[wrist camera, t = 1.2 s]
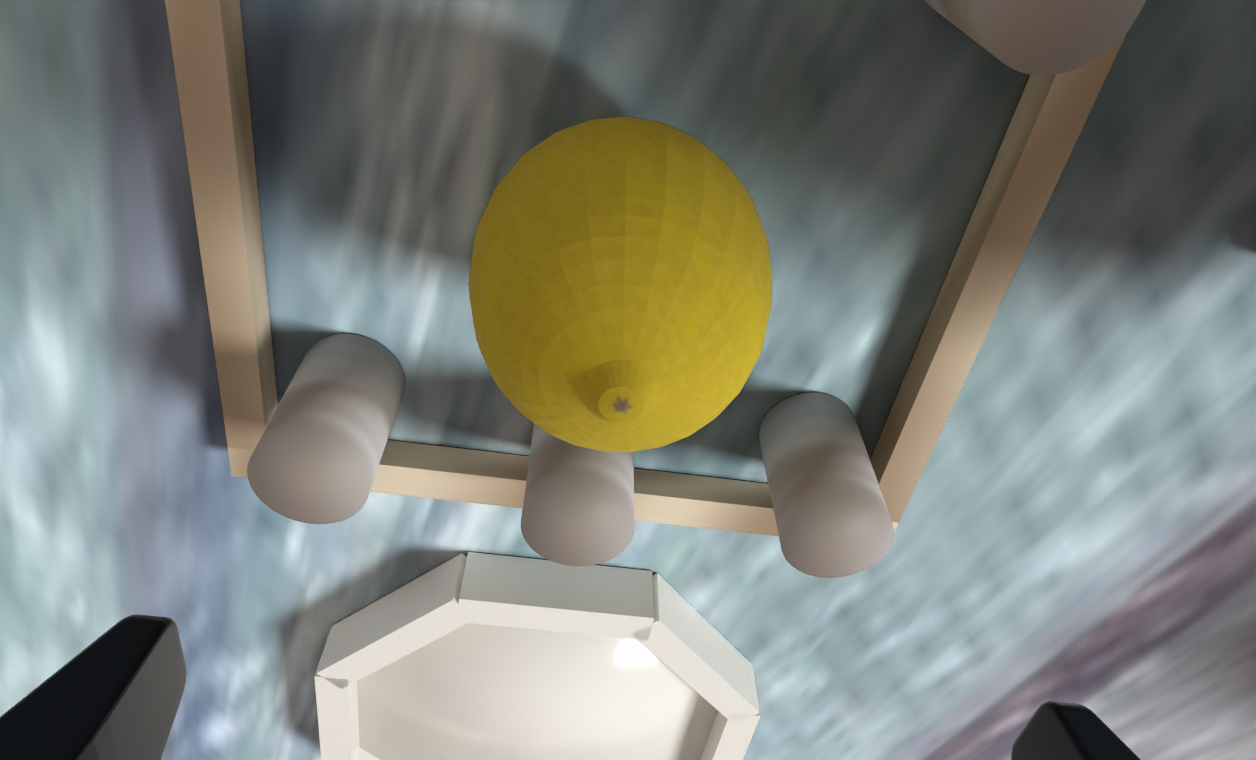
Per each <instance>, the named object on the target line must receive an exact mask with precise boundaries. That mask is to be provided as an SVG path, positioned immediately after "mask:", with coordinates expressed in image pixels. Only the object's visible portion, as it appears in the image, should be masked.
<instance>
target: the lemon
mask: <svg viewBox="0 0 1256 760" xmlns="http://www.w3.org/2000/svg"><path fill="white" fill-rule="evenodd" d="M469 294H470V302H471V309H472V315H473V322H474V328H475V333H476V339H477V342H478V345H479V348H480V351H481V353H482V355H483V358H484V360H485V362H486V364H487V366H488V368H489V371H490V373H491V375H492V377H493V379H494V381H495V383H496V384H497V386H498V388H499V389H500V390H501V391H502V392H503V394H504V395H505V396H506V397H507V398H508V400H509V401H510V402H511V403H512V404H513V406H514V407H515V408H516V409H517V410H518V411H519V412H520V413H521V414H522V415H523V416H525V417H526V418H527V419H529V420H530V421H531V422H533V423H534V424H535V425H537V426H538V427H539V428H541V429H542V430H543V431H545V432H546V433H548V434H550V435H552V436H555V437H557V438H559V439H561V440H563V441H566V442H568V443H570V444H572V445H576V446H580V447H585V448H589V449H594V450H598V451H604V452H635V451H641V450H647V449H653V448H659V447H663V446H665V445H668V444H671V443H673V442H676V441H678V440H681V439H683V438H686V437H688V436H690V435H692V434H693V433H695V432H696V431H698V430H699V429H701V428H702V427H704V426H705V425H707V424H708V423H710V422H711V421H713V420H714V419H715V418H716V417H717V416H718V415H719V414H720V413H721V412H722V411H723V410H724V409H725V408H726V407H727V406H728V405H729V404H730V403H731V401H732V400H733V399H734V398H735V397H736V396H737V395H738V394H739V393H740V391H741V389H742V388H743V386H744V384H745V382H746V380H747V379H748V377H749V375H750V373H751V371H752V369H753V368H754V366H755V364H756V362H757V360H758V358H759V356H760V353H761V350H762V347H763V342H764V337H765V333H766V328H767V324H768V319H769V314H770V309H771V303H772V281H771V266H770V251H769V245H768V241H767V238H766V235H765V232H764V230H763V227H762V224H761V222H760V219H759V216H758V213H757V211H756V208H755V205H754V203H753V200H752V198H751V197H750V195H749V193H748V192H747V190H746V189H745V188H744V186H743V185H742V184H741V182H740V181H739V180H738V178H737V177H736V176H735V174H734V173H733V172H732V170H731V169H730V168H729V166H728V165H727V164H726V163H725V162H724V161H723V159H721V158H720V157H719V156H717V155H716V154H715V153H714V152H712V151H711V150H710V149H709V148H707V147H706V146H705V145H704V144H702V143H701V142H700V141H699V140H697V139H696V138H695V137H693V136H691V135H689V134H686V133H684V132H682V131H679V130H677V129H675V128H673V127H670V126H668V125H666V124H663V123H661V122H657V121H651V120H645V119H638V118H632V117H614V118H603V119H593V120H588V121H585V122H582V123H580V124H577V125H574V126H571V127H568V128H565V129H563V130H560V131H557V132H555V133H554V134H552V135H551V136H549V137H548V138H546V139H545V140H544V141H542V142H541V143H539V144H538V145H536V146H535V147H533V148H532V149H531V150H529V151H528V152H526V153H525V154H524V155H523V156H522V157H521V158H520V159H519V161H518V162H517V163H516V164H515V165H514V166H513V168H512V169H511V170H510V171H509V172H508V174H507V175H506V176H505V177H504V178H503V179H502V181H501V182H500V183H499V184H498V185H497V187H496V189H495V190H494V192H493V194H492V196H491V199H490V201H489V203H488V205H487V207H486V210H485V212H484V214H483V216H482V218H481V221H480V223H479V225H478V228H477V230H476V234H475V239H474V245H473V252H472V260H471V267H470V275H469Z"/></svg>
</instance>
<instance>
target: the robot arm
mask: <svg viewBox="0 0 1256 760" xmlns="http://www.w3.org/2000/svg"><path fill="white" fill-rule="evenodd" d="M185 682H186V665H185V660H184V656H183V651H182V647H181V642H180V638H179V633H178V629H177V626H176V623H175V622H174V621H173V620H172V619H171V618H167V617H157V616H147V615H131V616H128V617H126V618H124V619H122V620H121V621H119V622H118V623H117V624H115V625H114V626H113V627H112V628H110V629H109V630H108V631H107V632H106V633H104V634H103V635H102V636H101V637H99V638H98V639H97V640H96V641H94V642H93V643H92V644H91V645H89V646H88V647H87V648H86V649H84V650H83V651H82V652H81V653H79V654H78V655H77V656H76V657H74V658H73V659H72V660H71V661H69V662H68V663H67V664H66V665H64V666H63V667H62V668H61V669H59V670H58V671H57V672H56V673H54V674H53V675H52V676H51V677H49V678H48V679H47V680H46V681H44V682H43V683H42V684H41V685H40V686H38V687H37V688H36V689H35V690H33V691H32V692H31V693H30V694H28V695H27V696H26V697H25V698H23V699H22V700H21V701H20V702H18V703H17V704H16V705H15V706H13V707H12V708H11V709H10V710H8V711H7V712H6V713H5V714H3V715H2V716H1V717H0V760H161V757H162V754H163V751H164V748H165V745H166V742H167V739H168V736H169V733H170V730H171V727H172V724H173V722H174V719H175V716H176V713H177V710H178V707H179V704H180V701H181V698H182V695H183V691H184V687H185ZM1011 760H1140V759H1139V758H1138V757H1137V756H1136V755H1135V754H1134V753H1133V752H1132V751H1131V750H1130V749H1129V748H1128V747H1127V746H1126V745H1125V744H1124V743H1123V742H1122V741H1121V740H1120V739H1119V738H1118V737H1117V736H1116V735H1115V734H1114V733H1113V732H1112V731H1111V730H1110V729H1109V728H1108V727H1107V726H1106V725H1105V724H1104V723H1103V722H1102V721H1101V720H1100V719H1099V718H1098V717H1097V716H1096V715H1095V714H1094V713H1093V712H1092V711H1091V710H1090V709H1088V708H1087V707H1085V706H1083V705H1080V704H1076V703H1065V702H1054V701H1048V702H1046V703H1043V704H1042V705H1041V706H1040V707H1039V708H1038V709H1037V711H1036V712H1035V714H1034V715H1033V716H1032V718H1031V719H1030V721H1029V722H1028V723H1027V725H1026V726H1025V728H1024V729H1023V730H1022V732H1021V733H1020V734H1019V736H1018V737H1017V739H1016V740H1015V742H1014V745H1013V748H1012V754H1011Z"/></svg>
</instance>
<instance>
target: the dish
mask: <svg viewBox="0 0 1256 760" xmlns="http://www.w3.org/2000/svg"><path fill="white" fill-rule="evenodd" d="M314 677H315V690H316V702H317V714H318V726H319V738H320V750H321V760H743V757H744V755H745V752H746V750H747V748H748V745H749V743H750V740H751V738H752V735H753V733H754V731H755V728H756V726H757V723H758V721H759V718H760V710H759V703H758V696H757V689H756V682H755V676H754V669H753V665H752V664H751V663H750V662H749V661H748V660H747V659H746V658H745V657H744V656H743V655H741V654H740V653H739V652H738V651H737V650H736V649H735V648H734V647H733V646H732V645H731V644H730V643H729V642H728V641H727V640H726V639H725V638H724V637H723V636H722V635H721V634H720V633H719V632H718V631H717V630H716V629H715V628H714V627H713V626H711V625H710V624H709V623H708V622H707V621H706V620H705V619H704V618H703V617H702V616H701V615H700V614H699V613H698V612H697V611H696V610H695V609H694V608H693V607H692V606H691V605H690V604H689V603H688V602H687V601H686V600H685V599H684V598H682V597H681V596H680V595H679V594H678V593H677V592H676V591H675V590H674V589H673V588H672V587H671V586H670V585H669V584H668V583H667V582H666V581H665V580H664V579H663V578H662V577H661V576H660V575H659V574H658V573H657V574H655V575H653V576H652V571H647V570H638V569H628V568H618V567H609V566H599V565H590V566H569V565H563V564H559V563H556V562H553V561H550V560H541V559H532V558H522V557H512V556H503V555H493V554H484V553H474V552H468V554H467V557H466V556H465V555H464V554H463V553H461V554H459V555H458V556H456V557H454V558H452V559H450V560H449V561H447V562H445V563H443V564H442V565H440V566H438V567H436V568H434V569H433V570H431V571H429V572H427V573H425V574H424V575H422V576H420V577H418V578H417V579H415V580H413V581H411V582H409V583H408V584H406V585H404V586H402V587H400V588H399V589H397V590H395V591H393V592H392V593H390V594H388V595H386V596H384V597H383V598H381V599H379V600H377V601H376V602H374V603H372V604H370V605H368V606H367V607H365V608H363V609H361V610H359V611H358V612H356V613H354V614H352V615H351V616H349V617H347V618H345V619H343V620H342V621H340V622H338V623H336V624H334V625H333V626H332V629H330V632H329V635H328V638H327V641H326V644H325V647H324V650H323V653H322V656H321V659H320V661H319V664H318V667H317V670H316V673H315V676H314Z"/></svg>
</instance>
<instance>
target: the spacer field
mask: <svg viewBox="0 0 1256 760" xmlns="http://www.w3.org/2000/svg"><path fill="white" fill-rule="evenodd" d="M924 1H925V2H926V3H927V4H928V5H929V6H930V7H932V8H933V9H934V10H935V11H937V12H938V13H939V14H941V15H942V16H943V17H944V18H946V19H947V20H948V21H950V22H951V23H952V24H953V25H955V26H956V27H957V28H959V29H960V30H961V31H962V32H964V33H965V34H966V35H968V36H969V37H970V38H972V39H973V40H974V41H975V42H977V43H978V44H979V45H981V46H982V47H983V48H984V49H986V50H987V51H988V52H990V53H991V54H992V55H993V56H995V57H996V58H997V59H999V60H1000V61H1001V62H1002V63H1004V64H1005V65H1007V66H1008V67H1010V68H1012V69H1014V70H1016V71H1019V72H1021V73H1026V74H1030V77H1029V79H1028V82H1027V84H1026V86H1025V89H1024V91H1023V94H1022V96H1021V98H1020V101H1019V103H1018V106H1017V108H1016V110H1015V113H1014V115H1013V118H1012V120H1011V122H1010V125H1009V127H1008V130H1007V132H1006V134H1005V137H1004V139H1003V142H1002V144H1001V146H1000V149H999V151H998V154H997V156H996V159H995V161H994V163H993V166H992V168H991V171H990V173H989V175H988V178H987V180H986V183H985V185H984V187H983V190H982V192H981V195H980V197H979V199H978V202H977V204H976V207H975V209H974V211H973V214H972V216H971V219H970V221H969V223H968V226H967V228H966V231H965V233H964V235H963V238H962V240H961V243H960V245H959V247H958V250H957V252H956V255H955V257H954V259H953V262H952V264H951V267H950V269H949V272H948V274H947V276H946V279H945V281H944V284H943V286H942V288H941V291H940V293H939V296H938V298H937V300H936V303H935V305H934V308H933V310H932V312H931V315H930V317H929V320H928V322H927V324H926V327H925V329H924V332H923V334H922V336H921V339H920V341H919V344H918V346H917V348H916V351H915V353H914V356H913V358H912V360H911V363H910V365H909V368H908V370H907V372H906V375H905V377H904V380H903V382H902V384H901V387H900V389H899V392H898V394H897V397H896V399H895V401H894V404H893V406H892V409H891V411H890V413H889V416H888V418H887V421H886V423H885V425H884V428H883V430H882V433H881V435H880V437H879V440H878V442H877V445H876V447H875V449H874V452H873V454H872V457H871V459H869V456H868V453H867V451H866V448H865V445H864V442H863V439H862V437H861V434H860V431H859V428H858V425H857V423H856V420H855V417H854V415H853V412H852V411H851V409H850V408H849V407H848V405H847V404H845V403H844V402H843V401H842V400H840V399H838V398H836V397H834V396H831V395H828V394H824V393H802V394H798V395H794V396H791V397H789V398H786V399H784V400H782V401H781V402H779V403H778V404H776V405H775V406H774V407H773V408H772V409H771V410H770V411H769V412H768V413H767V414H766V415H765V417H764V419H763V420H762V423H761V425H760V429H759V441H760V446H761V451H762V456H763V461H764V466H765V470H766V475H767V480H768V484H765V483H756V482H747V481H739V480H730V479H721V478H713V477H704V476H695V475H687V474H678V473H669V472H660V471H652V470H643V469H634V463H633V452H604V451H598V450H594V449H589V448H585V447H580V446H576V445H572V444H570V443H568V442H566V441H563V440H561V439H559V438H557V437H555V436H552V435H550V434H548V433H546V432H545V431H543V430H542V429H541V428H539V427H538V426H537V425H535V424H534V427H533V435H532V442H531V450H530V456H521V455H513V454H504V453H495V452H486V451H478V450H469V449H460V448H452V447H443V446H434V445H426V444H417V443H408V442H399V441H391V440H388V437H389V434H390V431H391V428H392V425H393V423H394V420H395V417H396V414H397V411H398V408H399V405H400V402H401V400H402V397H403V394H404V390H405V384H406V381H405V374H404V371H403V368H402V366H401V364H400V362H399V361H398V359H397V358H396V357H395V355H394V354H393V353H392V352H391V351H390V350H388V349H387V348H386V347H385V346H383V345H382V344H380V343H378V342H376V341H375V340H372V339H370V338H367V337H364V336H361V335H355V334H335V335H331V336H327V337H325V338H322V339H320V340H319V341H317V342H316V343H314V344H313V345H312V346H311V347H310V348H309V350H308V351H307V353H306V355H305V356H304V358H303V360H302V362H301V364H300V366H299V368H298V369H297V371H296V373H295V375H294V377H293V379H292V381H291V382H290V384H289V386H288V388H287V390H286V392H285V394H284V395H283V397H282V399H281V401H280V403H279V405H278V400H277V389H276V378H275V368H274V357H273V347H272V336H271V325H270V315H269V304H268V294H267V283H266V272H265V262H264V251H263V240H262V230H261V219H260V209H259V198H258V187H257V177H256V166H255V156H254V145H253V134H252V124H251V113H250V102H249V92H248V81H247V71H246V60H245V49H244V39H243V28H242V18H241V7H240V0H165V5H166V12H167V20H168V27H169V34H170V41H171V48H172V55H173V62H174V69H175V76H176V83H177V91H178V98H179V105H180V112H181V119H182V126H183V133H184V140H185V147H186V154H187V162H188V169H189V176H190V183H191V190H192V197H193V204H194V211H195V218H196V225H197V233H198V240H199V247H200V254H201V261H202V268H203V275H204V282H205V289H206V296H207V304H208V311H209V318H210V325H211V332H212V339H213V346H214V353H215V360H216V367H217V375H218V382H219V389H220V396H221V403H222V410H223V417H224V424H225V431H226V438H227V446H228V453H229V460H230V467H231V474H232V476H233V477H242V478H248V480H249V483H250V485H251V487H252V489H253V491H254V492H255V494H256V495H257V496H258V498H259V499H260V500H261V501H262V502H263V503H264V504H266V505H267V506H268V507H269V508H271V509H272V510H274V511H275V512H277V513H279V514H281V515H283V516H285V517H287V518H290V519H293V520H296V521H300V522H304V523H311V524H329V523H335V522H339V521H342V520H345V519H348V518H349V517H351V516H353V515H354V514H356V513H357V512H358V511H359V510H360V509H361V508H362V507H363V505H364V504H365V502H366V500H367V497H368V495H369V492H370V491H371V492H380V493H389V494H398V495H407V496H416V497H426V498H435V499H444V500H453V501H462V502H471V503H480V504H490V505H499V506H508V507H517V508H523V510H522V517H521V530H522V534H523V537H524V538H525V540H526V542H527V543H528V545H529V546H530V547H531V548H532V549H533V550H534V551H535V552H536V553H538V554H539V555H541V556H542V557H544V558H546V559H548V560H550V561H553V562H556V563H559V564H563V565H569V566H590V565H595V564H600V563H603V562H606V561H608V560H610V559H612V558H614V557H616V556H617V555H619V554H620V553H621V552H622V551H623V550H624V549H625V548H626V547H627V546H628V545H629V543H630V542H631V540H632V537H633V534H634V529H635V520H636V521H645V522H654V523H664V524H673V525H682V526H691V527H700V528H709V529H718V530H728V531H737V532H746V533H755V534H764V535H773V536H779V539H780V544H781V549H782V552H783V555H784V557H785V558H786V560H787V561H788V562H789V563H790V564H791V565H792V566H793V567H794V568H796V569H797V570H799V571H801V572H803V573H806V574H808V575H812V576H817V577H826V578H833V577H843V576H848V575H852V574H855V573H858V572H860V571H863V570H865V569H867V568H869V567H870V566H872V565H873V564H875V563H876V562H878V561H879V560H880V559H881V558H882V557H883V556H884V555H885V554H886V552H887V551H888V550H889V548H890V546H891V544H892V541H893V537H894V532H895V530H896V528H897V525H898V523H899V521H900V519H901V517H902V515H903V512H904V510H905V508H906V506H907V504H908V502H909V500H910V497H911V495H912V493H913V491H914V489H915V487H916V485H917V482H918V480H919V478H920V476H921V474H922V472H923V470H924V467H925V465H926V463H927V461H928V459H929V457H930V455H931V452H932V450H933V448H934V446H935V444H936V442H937V440H938V437H939V435H940V433H941V431H942V429H943V427H944V425H945V422H946V420H947V418H948V416H949V414H950V412H951V410H952V407H953V405H954V403H955V401H956V399H957V397H958V395H959V392H960V390H961V388H962V386H963V384H964V382H965V380H966V377H967V375H968V373H969V371H970V369H971V367H972V365H973V362H974V360H975V358H976V356H977V354H978V352H979V350H980V347H981V345H982V343H983V341H984V339H985V337H986V334H987V332H988V330H989V328H990V326H991V324H992V322H993V319H994V317H995V315H996V313H997V311H998V309H999V307H1000V304H1001V302H1002V300H1003V298H1004V296H1005V294H1006V292H1007V289H1008V287H1009V285H1010V283H1011V281H1012V279H1013V277H1014V274H1015V272H1016V270H1017V268H1018V266H1019V264H1020V262H1021V259H1022V257H1023V255H1024V253H1025V251H1026V249H1027V247H1028V244H1029V242H1030V240H1031V238H1032V236H1033V234H1034V232H1035V229H1036V227H1037V225H1038V223H1039V221H1040V219H1041V217H1042V214H1043V212H1044V210H1045V208H1046V206H1047V204H1048V202H1049V199H1050V197H1051V195H1052V193H1053V191H1054V189H1055V187H1056V184H1057V182H1058V180H1059V178H1060V176H1061V174H1062V172H1063V169H1064V167H1065V165H1066V163H1067V161H1068V159H1069V157H1070V154H1071V152H1072V150H1073V148H1074V146H1075V144H1076V141H1077V139H1078V137H1079V135H1080V133H1081V131H1082V129H1083V126H1084V124H1085V122H1086V120H1087V118H1088V116H1089V114H1090V111H1091V109H1092V107H1093V105H1094V103H1095V101H1096V99H1097V96H1098V94H1099V92H1100V90H1101V88H1102V86H1103V84H1104V81H1105V79H1106V77H1107V75H1108V73H1109V71H1110V69H1111V66H1112V64H1113V62H1114V60H1115V58H1116V56H1117V54H1118V51H1119V49H1120V47H1121V45H1122V43H1123V41H1124V39H1125V36H1126V34H1127V32H1128V30H1129V28H1130V27H1131V26H1132V24H1133V23H1134V21H1135V20H1136V18H1137V17H1138V15H1139V14H1140V12H1141V10H1142V8H1143V6H1144V4H1145V2H1146V0H924Z"/></svg>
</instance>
